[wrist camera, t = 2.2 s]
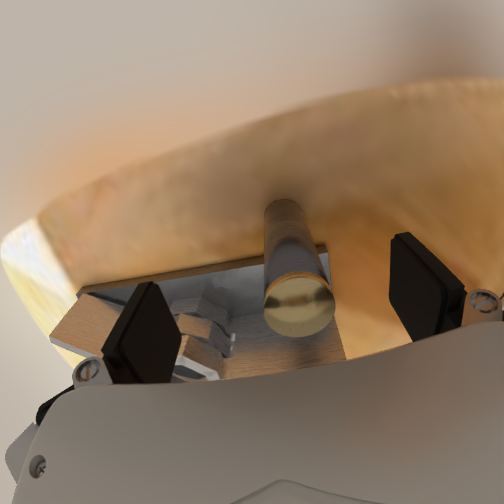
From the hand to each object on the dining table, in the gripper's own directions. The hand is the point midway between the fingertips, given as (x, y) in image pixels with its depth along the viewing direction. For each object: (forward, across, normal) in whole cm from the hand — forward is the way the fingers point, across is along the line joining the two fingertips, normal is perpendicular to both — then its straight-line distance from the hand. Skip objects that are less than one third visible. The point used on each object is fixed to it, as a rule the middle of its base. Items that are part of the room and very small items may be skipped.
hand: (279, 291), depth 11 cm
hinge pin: (+9, -1, 0) cm, 9 cm away
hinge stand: (+9, +7, +8) cm, 14 cm away
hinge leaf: (+8, +11, +6) cm, 14 cm away
